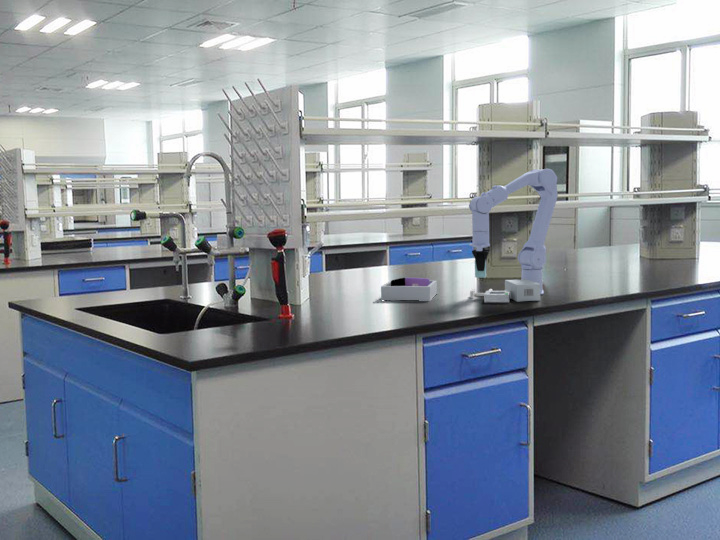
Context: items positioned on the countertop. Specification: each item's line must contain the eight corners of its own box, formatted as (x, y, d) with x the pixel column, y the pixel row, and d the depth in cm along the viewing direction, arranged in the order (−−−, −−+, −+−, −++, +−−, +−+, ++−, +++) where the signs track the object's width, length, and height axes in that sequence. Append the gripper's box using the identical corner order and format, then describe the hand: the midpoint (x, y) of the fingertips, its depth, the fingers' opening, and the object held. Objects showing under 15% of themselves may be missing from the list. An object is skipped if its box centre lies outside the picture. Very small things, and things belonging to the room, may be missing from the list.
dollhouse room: (403, 295, 277) (403, 276, 276) (432, 297, 271) (432, 278, 270) (386, 299, 267) (386, 280, 266) (416, 301, 261) (416, 281, 260)
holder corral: (390, 294, 279) (390, 280, 279) (436, 294, 275) (436, 280, 275) (381, 300, 263) (380, 286, 262) (430, 301, 259) (429, 286, 258)
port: (486, 298, 261) (486, 289, 260) (510, 298, 259) (510, 289, 259) (484, 303, 251) (484, 293, 251) (508, 303, 249) (508, 293, 249)
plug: (476, 276, 267) (475, 256, 266) (486, 276, 266) (485, 256, 265) (475, 277, 263) (474, 257, 262) (485, 277, 262) (485, 257, 262)
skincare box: (540, 301, 252) (527, 295, 267) (540, 282, 252) (527, 278, 267) (515, 301, 252) (504, 296, 267) (515, 283, 251) (504, 279, 266)
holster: (472, 295, 269) (471, 288, 269) (492, 295, 267) (492, 288, 267) (470, 298, 263) (470, 291, 263) (491, 298, 261) (491, 291, 261)
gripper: (471, 230, 271) (471, 268, 272) (467, 232, 257) (467, 272, 258) (491, 229, 269) (491, 268, 270) (488, 232, 255) (488, 272, 256)
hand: (481, 270), depth 264 cm, fingers closed on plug, 4 cm apart
